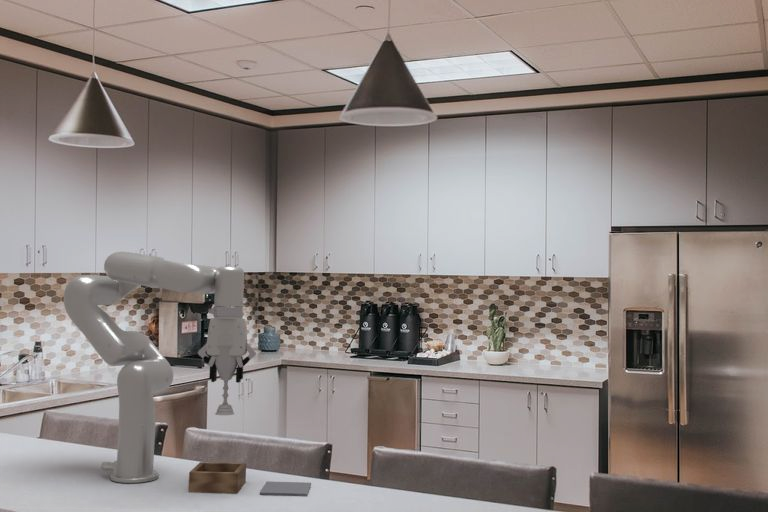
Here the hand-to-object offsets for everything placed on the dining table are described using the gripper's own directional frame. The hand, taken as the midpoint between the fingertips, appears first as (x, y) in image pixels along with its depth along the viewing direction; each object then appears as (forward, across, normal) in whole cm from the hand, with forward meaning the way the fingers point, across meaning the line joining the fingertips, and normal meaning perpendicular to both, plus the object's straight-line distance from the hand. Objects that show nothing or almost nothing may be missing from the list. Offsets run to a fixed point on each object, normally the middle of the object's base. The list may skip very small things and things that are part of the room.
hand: (226, 381), depth 203 cm
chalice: (+9, 0, 0) cm, 9 cm away
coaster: (+28, +17, -1) cm, 32 cm away
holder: (+28, -1, 0) cm, 28 cm away
